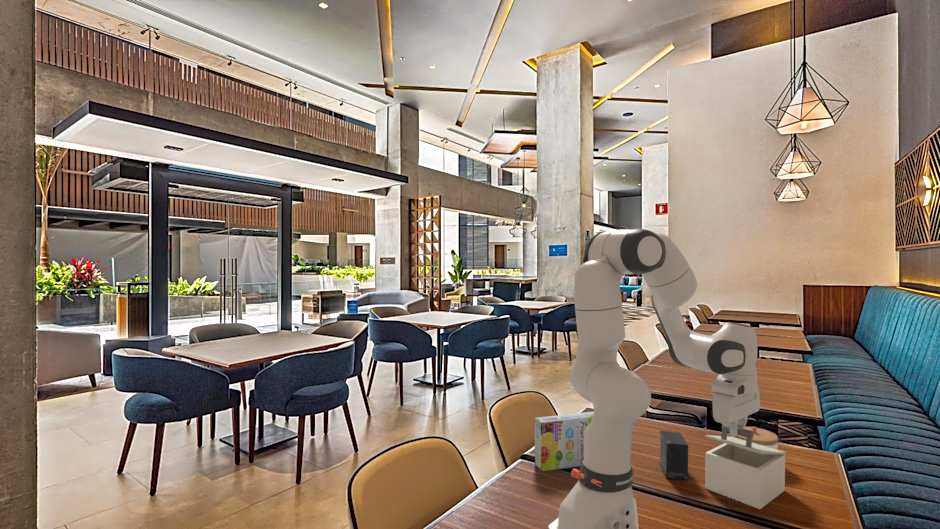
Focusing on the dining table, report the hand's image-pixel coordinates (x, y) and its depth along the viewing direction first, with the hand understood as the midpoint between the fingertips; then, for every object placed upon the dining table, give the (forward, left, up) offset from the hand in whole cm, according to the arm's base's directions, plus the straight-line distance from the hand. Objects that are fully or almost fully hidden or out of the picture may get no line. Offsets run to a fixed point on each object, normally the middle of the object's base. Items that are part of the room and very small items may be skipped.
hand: (737, 433), depth 129 cm
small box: (0, +18, -17) cm, 25 cm away
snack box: (-21, +41, -17) cm, 49 cm away
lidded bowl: (+26, +6, -17) cm, 31 cm away
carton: (+5, 0, -17) cm, 17 cm away
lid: (+5, 0, -5) cm, 6 cm away
